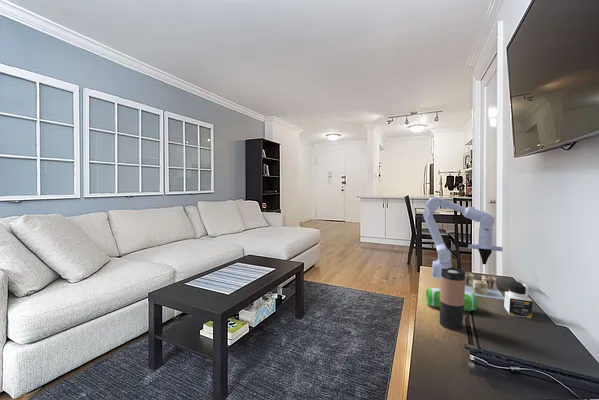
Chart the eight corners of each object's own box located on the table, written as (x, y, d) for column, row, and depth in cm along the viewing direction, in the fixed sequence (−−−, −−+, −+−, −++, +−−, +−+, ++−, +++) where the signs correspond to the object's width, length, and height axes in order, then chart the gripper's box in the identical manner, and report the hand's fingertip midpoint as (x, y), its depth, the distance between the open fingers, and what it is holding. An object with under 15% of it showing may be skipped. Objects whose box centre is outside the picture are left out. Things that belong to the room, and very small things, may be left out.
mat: (463, 294, 129) (463, 293, 129) (458, 281, 148) (458, 280, 148) (505, 301, 123) (506, 299, 123) (495, 286, 141) (495, 284, 141)
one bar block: (461, 285, 140) (462, 274, 140) (460, 281, 145) (460, 271, 145) (473, 286, 138) (473, 276, 138) (471, 283, 143) (472, 273, 143)
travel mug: (462, 332, 96) (465, 275, 95) (437, 326, 100) (440, 271, 99) (463, 323, 103) (465, 269, 101) (440, 318, 107) (442, 266, 105)
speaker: (428, 308, 115) (428, 290, 114) (425, 301, 122) (426, 284, 121) (477, 315, 110) (478, 296, 109) (471, 307, 117) (472, 289, 116)
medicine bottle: (509, 315, 110) (510, 285, 109) (503, 307, 116) (505, 279, 115) (531, 318, 107) (533, 287, 106) (524, 311, 114) (526, 281, 113)
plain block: (474, 293, 130) (474, 282, 129) (472, 289, 134) (473, 279, 134) (487, 295, 128) (487, 284, 127) (484, 291, 132) (485, 280, 132)
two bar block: (483, 288, 136) (483, 278, 136) (481, 285, 141) (481, 275, 140) (495, 290, 134) (496, 279, 134) (493, 286, 139) (493, 276, 138)
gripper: (470, 237, 142) (468, 264, 143) (504, 240, 136) (503, 267, 137) (468, 235, 148) (466, 260, 149) (501, 237, 143) (499, 264, 143)
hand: (484, 263), depth 144 cm, fingers closed
